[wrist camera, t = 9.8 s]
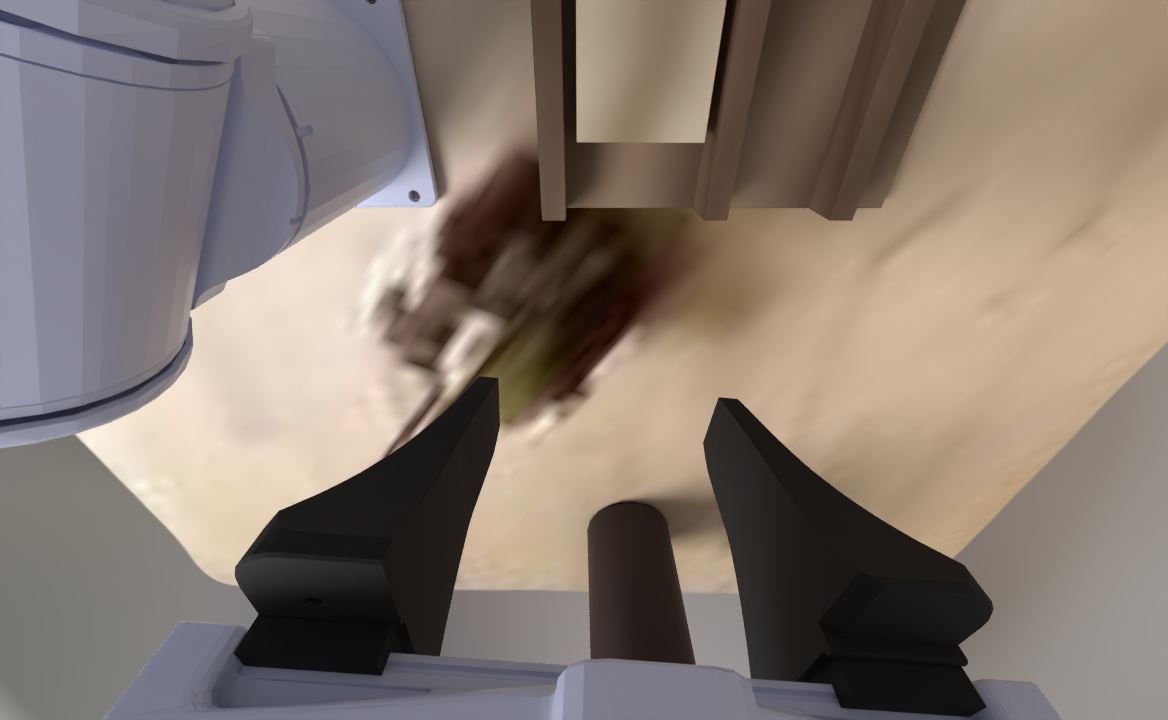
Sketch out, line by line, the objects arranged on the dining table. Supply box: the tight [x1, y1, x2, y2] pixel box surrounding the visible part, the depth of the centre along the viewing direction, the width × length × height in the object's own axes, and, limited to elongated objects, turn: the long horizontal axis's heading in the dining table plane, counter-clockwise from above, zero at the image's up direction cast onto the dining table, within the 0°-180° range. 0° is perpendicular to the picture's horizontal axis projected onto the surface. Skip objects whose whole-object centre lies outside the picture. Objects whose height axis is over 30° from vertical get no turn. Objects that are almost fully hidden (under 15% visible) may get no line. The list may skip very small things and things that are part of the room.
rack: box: [531, 0, 966, 220], centre depth 15 cm, size 16×14×3 cm
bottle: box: [587, 503, 696, 665], centre depth 27 cm, size 7×7×20 cm
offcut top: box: [576, 0, 727, 143], centre depth 14 cm, size 5×8×1 cm, turn 0°
